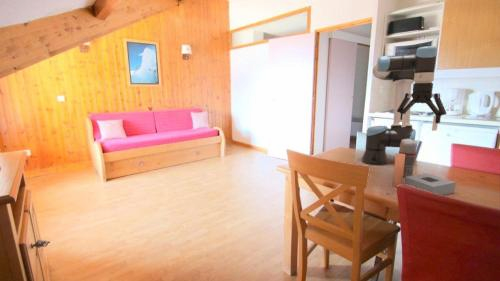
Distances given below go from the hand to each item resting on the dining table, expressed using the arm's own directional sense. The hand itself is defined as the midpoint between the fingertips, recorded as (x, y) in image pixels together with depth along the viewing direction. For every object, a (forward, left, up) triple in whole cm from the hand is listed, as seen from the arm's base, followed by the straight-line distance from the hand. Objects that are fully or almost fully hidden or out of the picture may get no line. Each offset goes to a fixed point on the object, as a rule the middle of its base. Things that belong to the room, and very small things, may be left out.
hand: (418, 128), depth 121 cm
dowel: (-3, -7, -28) cm, 29 cm away
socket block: (+6, +2, -28) cm, 29 cm away
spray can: (-13, +9, -29) cm, 33 cm away
